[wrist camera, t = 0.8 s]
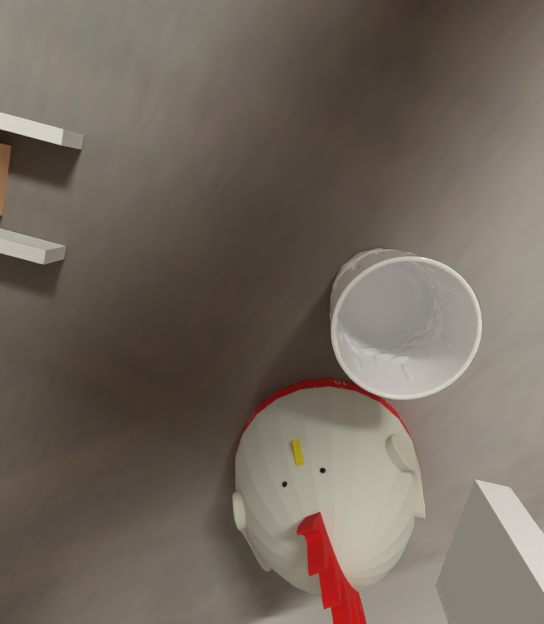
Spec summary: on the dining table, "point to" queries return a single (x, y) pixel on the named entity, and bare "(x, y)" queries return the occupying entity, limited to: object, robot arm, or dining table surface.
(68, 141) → the parallel white rails
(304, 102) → the dining table surface
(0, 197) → the block
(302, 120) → the dining table surface
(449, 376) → the white cup
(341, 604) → the white chicken figurine
